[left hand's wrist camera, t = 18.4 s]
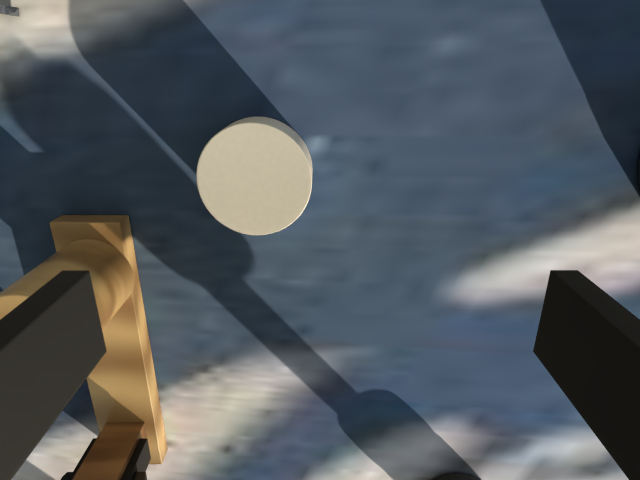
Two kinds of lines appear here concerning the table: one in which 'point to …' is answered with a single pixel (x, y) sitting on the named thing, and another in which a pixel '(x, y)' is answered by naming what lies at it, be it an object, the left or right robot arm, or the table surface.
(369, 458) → the table surface
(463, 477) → the headphones
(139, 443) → the right robot arm
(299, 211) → the cap
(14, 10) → the toy
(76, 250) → the canister stand
